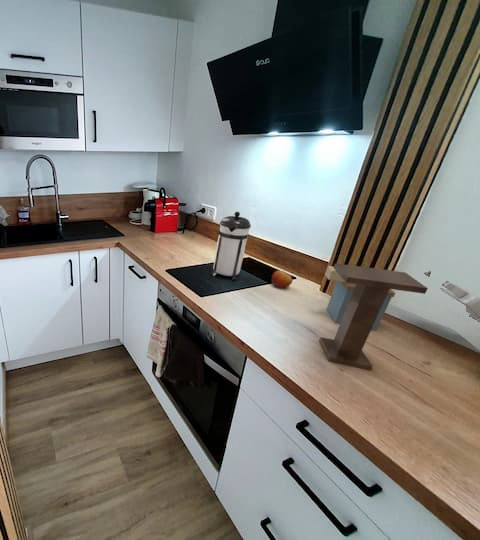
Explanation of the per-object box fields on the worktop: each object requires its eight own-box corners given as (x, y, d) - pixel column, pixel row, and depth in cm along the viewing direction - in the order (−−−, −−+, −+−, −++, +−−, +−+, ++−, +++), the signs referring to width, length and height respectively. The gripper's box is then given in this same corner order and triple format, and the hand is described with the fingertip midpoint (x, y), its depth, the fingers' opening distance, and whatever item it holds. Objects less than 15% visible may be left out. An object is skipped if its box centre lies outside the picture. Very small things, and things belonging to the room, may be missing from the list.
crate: (364, 315, 105) (380, 279, 99) (377, 331, 95) (395, 293, 90) (325, 308, 108) (337, 274, 103) (333, 323, 99) (348, 286, 93)
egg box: (401, 285, 95) (407, 273, 93) (408, 291, 91) (414, 278, 89) (324, 274, 102) (329, 262, 100) (328, 279, 98) (332, 267, 96)
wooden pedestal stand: (368, 351, 86) (405, 272, 75) (383, 373, 77) (428, 288, 67) (308, 338, 91) (335, 263, 80) (316, 358, 82) (347, 276, 72)
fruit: (263, 278, 129) (277, 265, 126) (277, 287, 130) (290, 274, 127) (269, 286, 122) (284, 272, 118) (283, 295, 123) (298, 282, 119)
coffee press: (250, 280, 130) (266, 215, 118) (218, 282, 127) (230, 215, 115) (231, 265, 146) (243, 207, 134) (201, 267, 143) (211, 207, 131)
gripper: (461, 283, 95) (425, 259, 96) (514, 314, 78) (470, 283, 78) (441, 296, 98) (407, 272, 99) (488, 328, 81) (446, 298, 81)
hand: (435, 277), depth 89 cm, fingers open, 8 cm apart
